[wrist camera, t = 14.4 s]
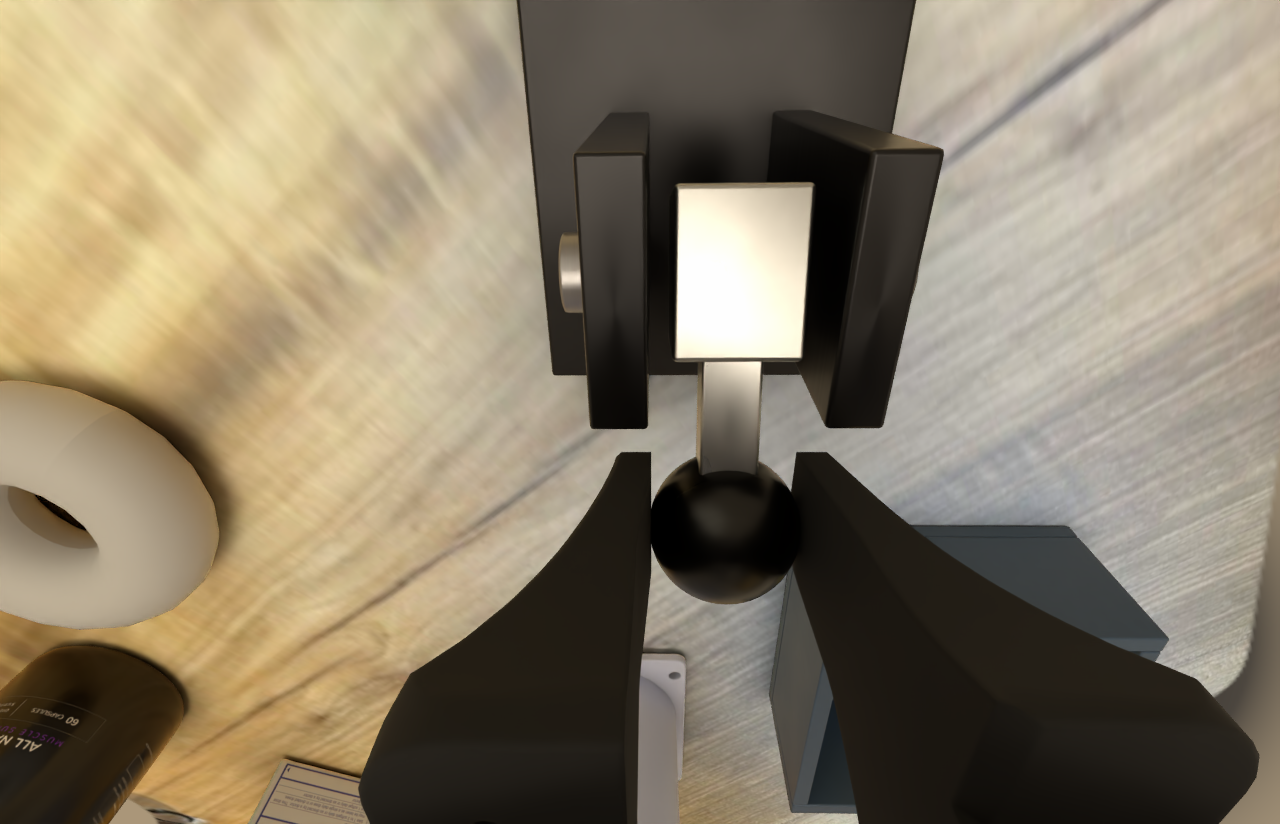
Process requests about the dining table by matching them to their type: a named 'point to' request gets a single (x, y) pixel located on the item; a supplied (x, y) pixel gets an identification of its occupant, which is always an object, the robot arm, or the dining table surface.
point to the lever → (733, 381)
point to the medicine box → (309, 797)
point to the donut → (95, 513)
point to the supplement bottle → (81, 734)
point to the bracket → (722, 178)
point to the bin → (1006, 555)
